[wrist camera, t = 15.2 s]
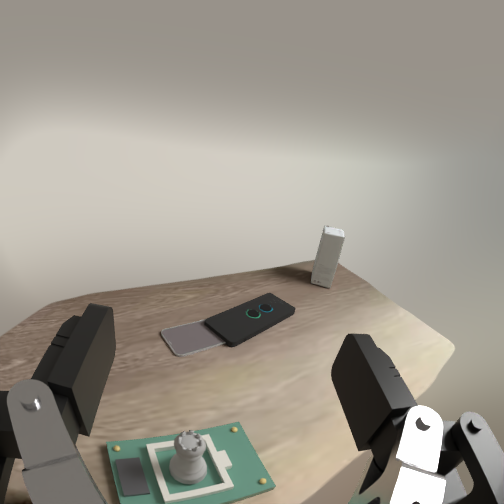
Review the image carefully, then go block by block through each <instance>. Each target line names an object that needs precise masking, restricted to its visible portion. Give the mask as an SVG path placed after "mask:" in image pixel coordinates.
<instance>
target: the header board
mask: <svg viewBox="0 0 504 504" xmlns="http://www.w3.org/2000/svg"><path fill="white" fill-rule="evenodd" d="M194 433H196V434H198V433H199V434H200V435H201V436H202V438H203V439H204V440H205V443H206V450H205V451H204V453H203V455H202V457H203V458H204V460H205V462H206V465H207V474H206V476H205V478H204V479H203V480H202V481H200V482H199V483H196V484H191V485H189V484H183V483H181V482H179V481H177V480H175V479H174V478H173V476H172V475H171V473H170V470H169V465H170V460H171V458H172V457H173V456H174V454H176V450H175V447H174V439H175V438H176V437H177V435H179V434H174V435H168V436H160V437H153V438H145V439H136V440H125V441H113V442H106V443H107V448H108V453H109V458H110V463H111V467H112V472H113V476H114V480H115V484H116V488H117V492H118V496H119V499H120V503H121V504H229V503H233V502H236V501H240V500H243V499H246V498H249V497H252V496H256V495H259V494H262V493H264V492H267V491H270V490H273V489H274V488H275V487H276V485H275V484H274V482H273V480H272V479H271V477H270V476H269V474H268V472H267V470H266V469H265V467H264V465H263V464H262V462H261V460H260V459H259V457H258V455H257V453H256V452H255V450H254V448H253V446H252V445H251V443H250V441H249V439H248V437H247V436H246V434H245V432H244V430H243V428H242V426H241V425H240V423H239V422H235V423H231V424H227V425H222V426H218V427H213V428H208V429H203V430H198V431H194ZM180 434H181V433H180Z"/></svg>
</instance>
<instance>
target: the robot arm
mask: <svg viewBox="0 0 504 504" xmlns="http://www.w3.org/2000/svg"><path fill="white" fill-rule="evenodd" d="M115 350H116V340H115V330H114V317H113V309H112V307H108V306H103V305H97V304H92V303H90V304H89V305H88V307H87V308H86V310H85V312H84V313H83V315H82V317H79V316H75V315H74V316H73V317H71V318H70V319H68V320H67V321H66V322H64V323H63V324H62V326H61V327H60V329H59V331H58V332H57V334H56V336H55V337H54V339H53V341H52V342H51V345H50V346H49V347H48V349H47V351H46V353H45V354H44V356H43V358H42V360H41V361H40V363H39V365H38V367H37V369H36V370H35V372H34V374H33V376H32V378H31V379H28V380H23V381H20V382H18V383H17V384H15V385H14V386H13V387H12V388H11V389H10V391H0V504H4V500H5V495H6V491H7V487H8V483H9V479H10V475H11V471H12V467H13V464H14V460H15V458H18V459H22V460H23V463H24V467H25V469H23V470H22V475H23V479H24V482H25V485H26V488H27V490H28V493H29V495H30V498H31V500H32V502H33V504H108V503H107V502H106V500H105V499H104V497H103V496H102V494H101V492H100V491H99V489H98V487H97V485H96V484H95V482H94V480H93V478H92V476H91V475H90V473H89V471H88V469H87V467H86V465H85V463H84V461H83V459H82V457H81V455H80V453H79V451H78V449H77V447H76V445H75V444H76V441H77V437H78V434H82V435H85V436H90V433H91V429H92V426H93V422H94V419H95V415H96V412H97V409H98V406H99V403H100V399H101V396H102V393H103V390H104V387H105V384H106V381H107V378H108V375H109V372H110V369H111V366H112V363H113V361H114V357H115ZM331 377H332V382H333V384H334V387H335V389H336V392H337V395H338V397H339V400H340V403H341V405H342V408H343V411H344V413H345V416H346V419H347V421H348V424H349V427H350V429H351V432H352V435H353V438H354V440H355V443H356V446H357V449H358V451H363V450H369V449H371V451H372V453H373V454H372V455H371V456H370V457H369V459H368V461H367V464H366V467H365V469H364V471H363V474H362V476H361V478H360V481H359V483H358V485H357V487H356V490H355V492H354V494H353V496H352V498H351V500H350V501H349V503H348V504H504V453H503V451H502V449H501V448H500V446H499V444H498V442H497V440H496V438H495V437H494V435H493V433H492V431H491V429H490V428H489V426H488V425H487V423H486V421H485V420H484V419H483V418H482V417H481V416H480V415H479V414H477V413H474V412H465V413H464V414H463V415H462V416H461V417H460V418H459V419H458V420H457V422H452V421H442V420H441V419H440V417H439V416H438V414H437V413H436V412H434V411H433V410H432V409H430V408H428V407H425V406H418V405H417V403H416V401H415V399H414V398H413V396H412V394H411V392H410V391H409V389H408V387H407V386H406V384H405V382H404V380H403V379H402V377H400V374H399V372H398V370H397V369H395V365H394V364H393V362H392V360H391V359H390V357H389V356H388V355H387V354H386V353H385V352H383V351H382V350H381V349H380V348H377V346H376V344H375V343H374V341H373V339H372V338H371V336H370V335H368V334H348V335H347V336H346V337H345V339H344V341H343V344H342V346H341V348H340V350H339V352H338V354H337V357H336V359H335V361H334V363H333V366H332V370H331ZM463 460H464V461H465V464H466V466H467V468H468V470H469V472H470V474H471V477H472V479H473V481H474V487H473V490H472V491H471V493H470V494H469V495H467V494H466V492H465V489H464V487H463V484H462V482H461V480H460V477H459V475H458V473H457V470H456V468H455V467H457V466H458V465H459V464H460V463H461V462H462V461H463Z"/></svg>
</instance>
